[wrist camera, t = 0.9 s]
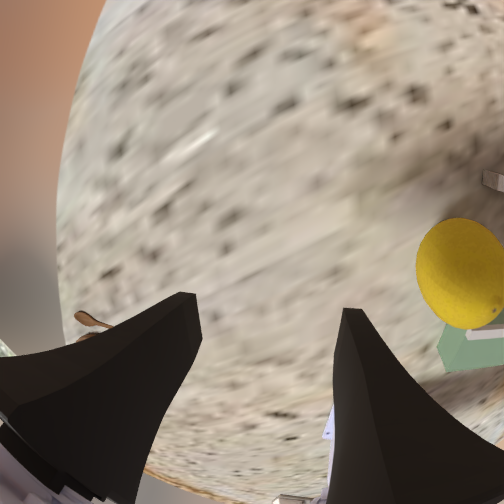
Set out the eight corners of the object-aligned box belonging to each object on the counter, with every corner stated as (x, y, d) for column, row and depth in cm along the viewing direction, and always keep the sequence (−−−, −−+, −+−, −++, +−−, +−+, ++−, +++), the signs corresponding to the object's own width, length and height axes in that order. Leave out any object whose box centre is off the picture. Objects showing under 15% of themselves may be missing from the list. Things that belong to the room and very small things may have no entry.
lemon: (476, 209, 14) (547, 257, 7) (458, 282, 16) (506, 354, 9) (408, 198, 15) (468, 247, 8) (394, 278, 17) (427, 361, 10)
